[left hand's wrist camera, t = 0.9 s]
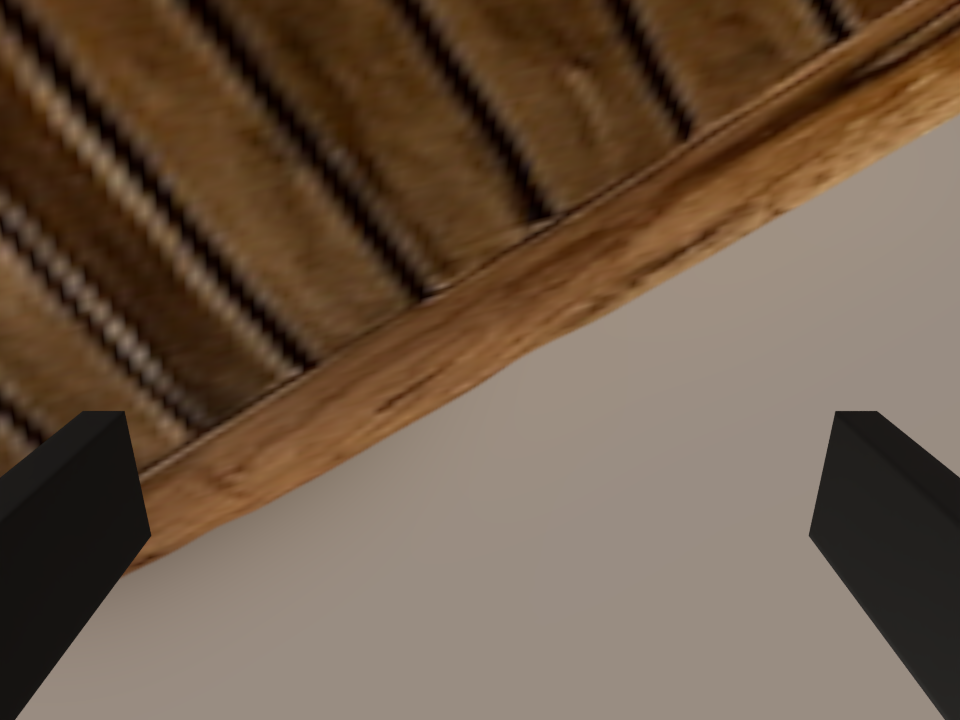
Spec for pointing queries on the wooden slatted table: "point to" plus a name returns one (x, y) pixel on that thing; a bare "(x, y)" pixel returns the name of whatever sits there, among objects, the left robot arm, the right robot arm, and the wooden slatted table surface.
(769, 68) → the wooden slatted table surface
